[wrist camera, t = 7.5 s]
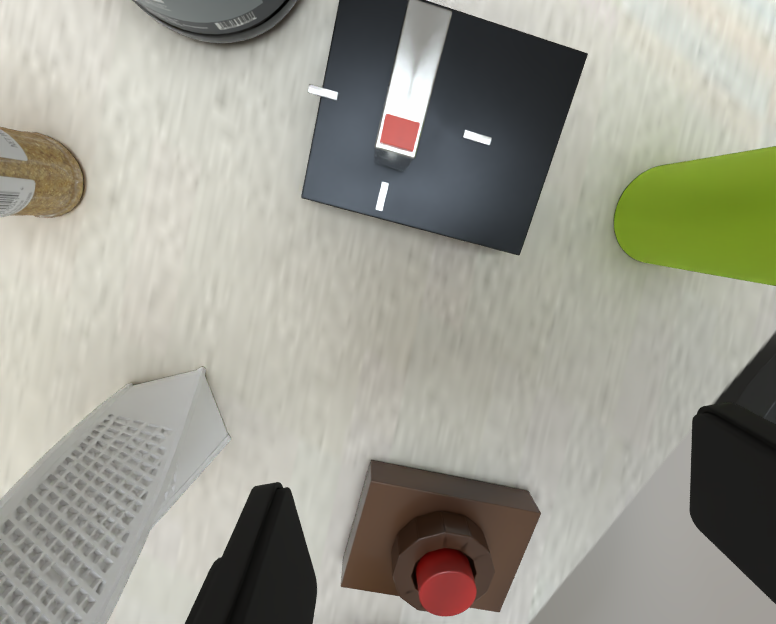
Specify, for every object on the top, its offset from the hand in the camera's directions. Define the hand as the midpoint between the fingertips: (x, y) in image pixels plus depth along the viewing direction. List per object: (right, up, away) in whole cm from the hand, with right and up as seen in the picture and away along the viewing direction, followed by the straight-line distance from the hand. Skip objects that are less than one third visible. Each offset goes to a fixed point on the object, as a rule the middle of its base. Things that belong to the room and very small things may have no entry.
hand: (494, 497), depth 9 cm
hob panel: (0, +14, +13) cm, 19 cm away
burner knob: (-2, +14, +10) cm, 17 cm away
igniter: (+1, -12, +20) cm, 23 cm away
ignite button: (+1, -13, +16) cm, 21 cm away
